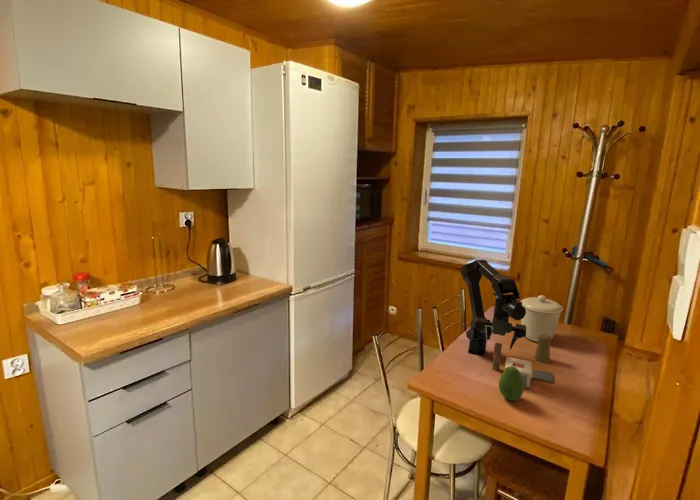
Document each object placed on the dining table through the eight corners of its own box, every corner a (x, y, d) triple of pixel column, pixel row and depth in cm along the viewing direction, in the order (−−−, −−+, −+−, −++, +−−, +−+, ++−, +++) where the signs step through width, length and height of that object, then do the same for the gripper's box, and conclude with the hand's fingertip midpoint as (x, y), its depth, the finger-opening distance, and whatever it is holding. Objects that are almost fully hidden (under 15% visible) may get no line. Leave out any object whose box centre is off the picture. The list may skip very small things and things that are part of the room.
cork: (551, 363, 161) (555, 339, 158) (536, 362, 162) (539, 337, 160) (547, 356, 167) (550, 333, 164) (532, 355, 168) (535, 331, 165)
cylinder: (491, 369, 156) (494, 344, 153) (492, 366, 158) (495, 342, 156) (498, 371, 155) (501, 346, 152) (499, 368, 157) (502, 343, 154)
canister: (521, 326, 197) (525, 286, 192) (560, 335, 187) (567, 294, 182) (511, 339, 183) (516, 296, 178) (554, 350, 172) (560, 305, 168)
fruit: (509, 407, 132) (513, 376, 129) (492, 395, 139) (495, 364, 136) (526, 402, 135) (530, 371, 132) (509, 390, 142) (512, 360, 139)
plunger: (512, 373, 147) (513, 368, 147) (513, 369, 150) (513, 364, 149) (522, 375, 146) (522, 370, 145) (522, 371, 149) (522, 366, 148)
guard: (503, 383, 147) (504, 367, 145) (504, 371, 154) (506, 356, 153) (529, 389, 143) (531, 373, 141) (529, 377, 151) (531, 361, 149)
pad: (532, 379, 149) (532, 377, 149) (532, 370, 156) (532, 369, 156) (552, 383, 147) (553, 382, 146) (552, 374, 153) (552, 373, 153)
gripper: (474, 312, 147) (470, 350, 151) (527, 322, 140) (522, 361, 143) (477, 303, 157) (474, 338, 161) (528, 311, 149) (523, 348, 153)
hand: (497, 346), depth 154 cm, fingers open, 9 cm apart
